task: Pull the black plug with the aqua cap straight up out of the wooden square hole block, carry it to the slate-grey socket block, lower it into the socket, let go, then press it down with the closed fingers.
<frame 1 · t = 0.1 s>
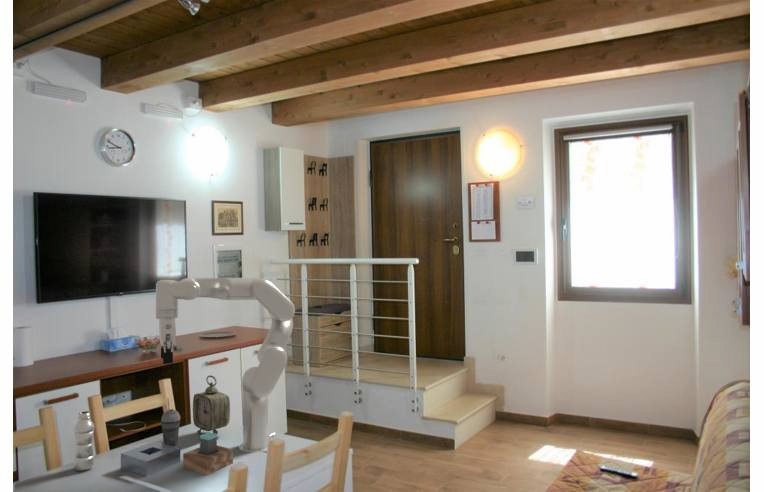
hand: (166, 360, 205), 37 cm above the table, tool pointing down, fingers open, 9 cm apart
beverage cup: (170, 450, 217), on the table
socket block: (150, 467, 200), on the table
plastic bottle: (84, 469, 198), on the table
tabletop clock: (211, 435, 234), on the table
wooden square hole block: (208, 468, 200), on the table
plug: (208, 465, 200), point 1 cm above the table, touching wooden square hole block
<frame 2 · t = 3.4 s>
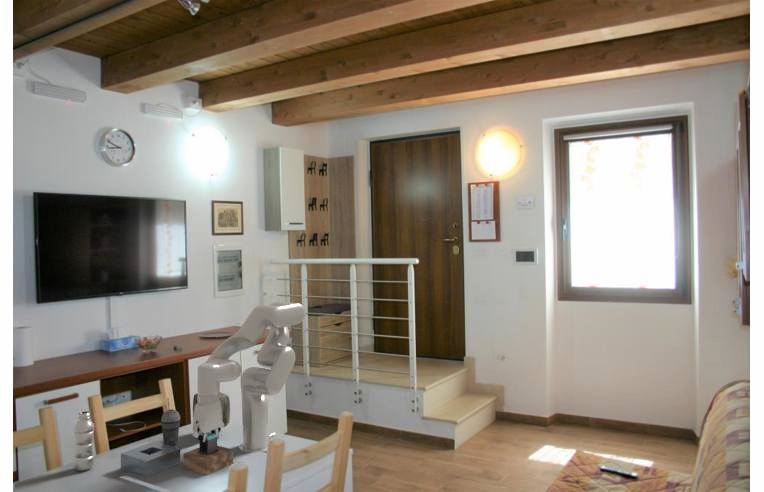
hand: (208, 449, 200), 7 cm above the table, tool pointing down, fingers closed on plug, 4 cm apart
plug: (208, 465, 200), point 1 cm above the table, touching gripper, wooden square hole block
everything else where it was.
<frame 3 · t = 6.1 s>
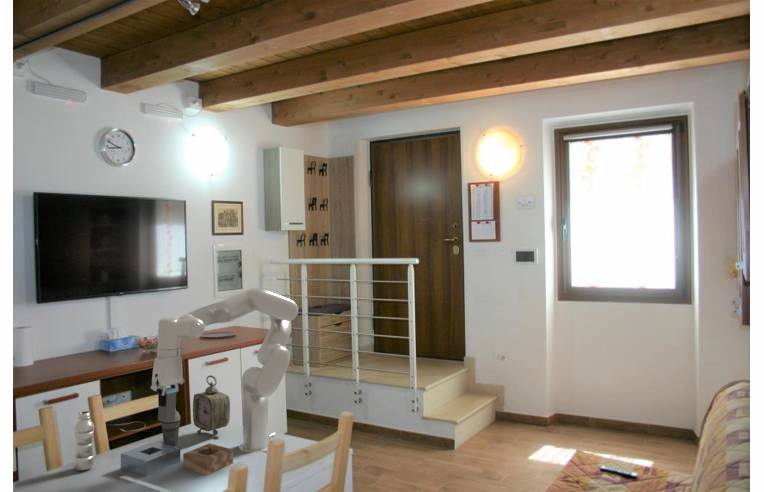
hand: (167, 404, 200), 23 cm above the table, tool pointing down, fingers closed on plug, 4 cm apart
plug: (166, 419, 200), point 17 cm above the table, touching gripper
everything else where it was.
when the fingers open (8 cm above the table, at t = 9.1 s): plug stays where it is, resting on socket block.
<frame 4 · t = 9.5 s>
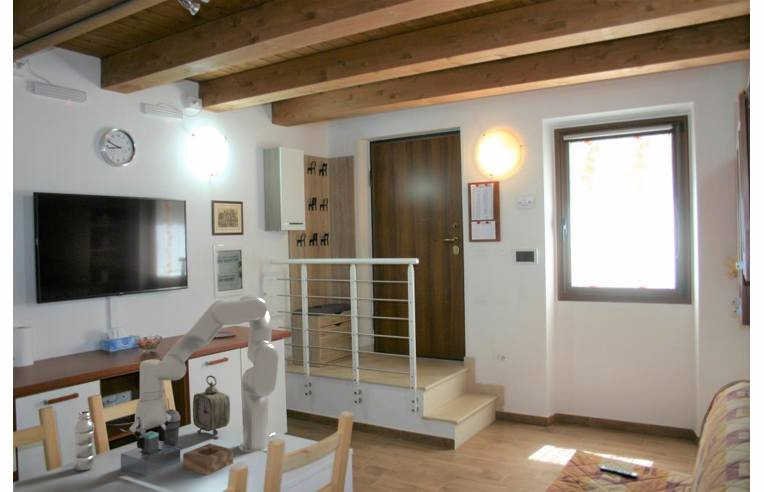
hand: (151, 444, 200), 8 cm above the table, tool pointing down, fingers open, 7 cm apart
plug: (150, 464, 200), point 1 cm above the table, touching socket block
everything else where it was.
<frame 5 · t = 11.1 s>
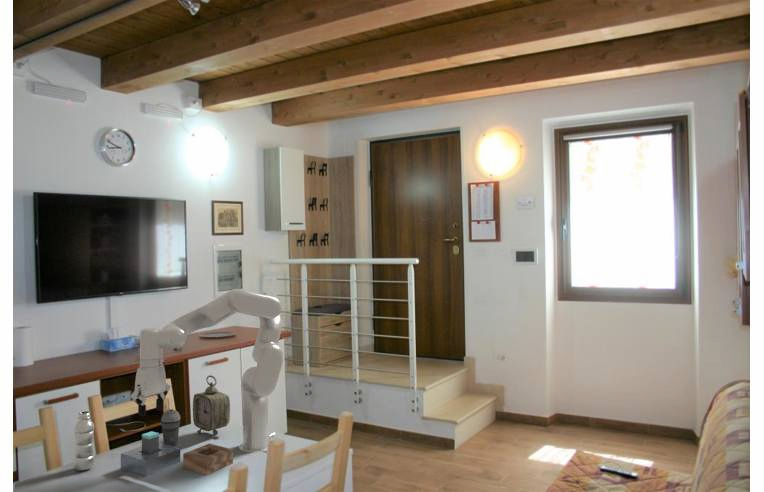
hand: (151, 412, 200), 20 cm above the table, tool pointing down, fingers open, 6 cm apart
nothing on the table moved.
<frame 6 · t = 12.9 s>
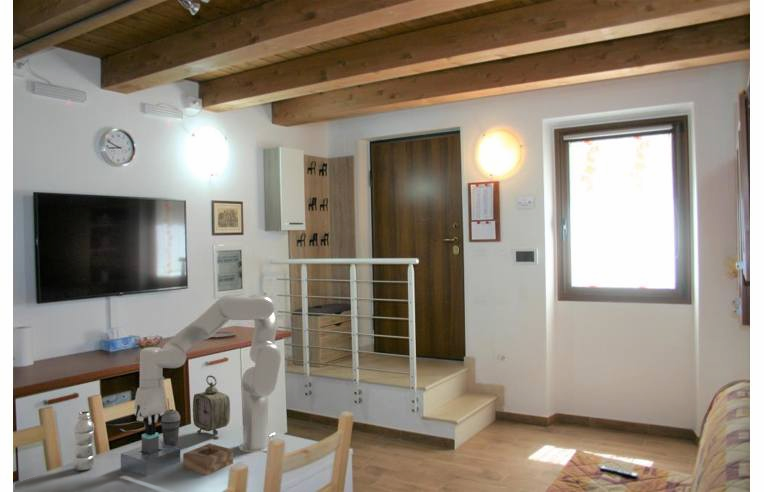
hand: (150, 434, 200), 12 cm above the table, tool pointing down, fingers closed
plug: (150, 464, 200), point 1 cm above the table, touching gripper, socket block
everything else where it was.
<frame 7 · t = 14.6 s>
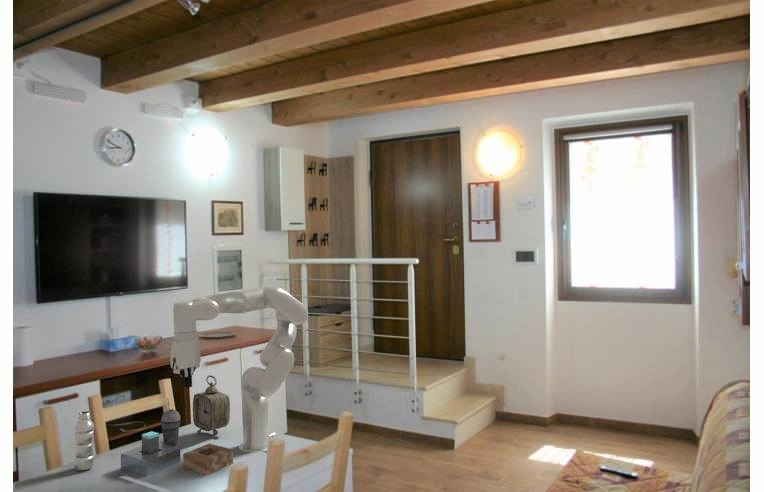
hand: (187, 386, 201), 29 cm above the table, tool pointing down, fingers closed
plug: (150, 464, 200), point 1 cm above the table, touching socket block
everything else where it was.
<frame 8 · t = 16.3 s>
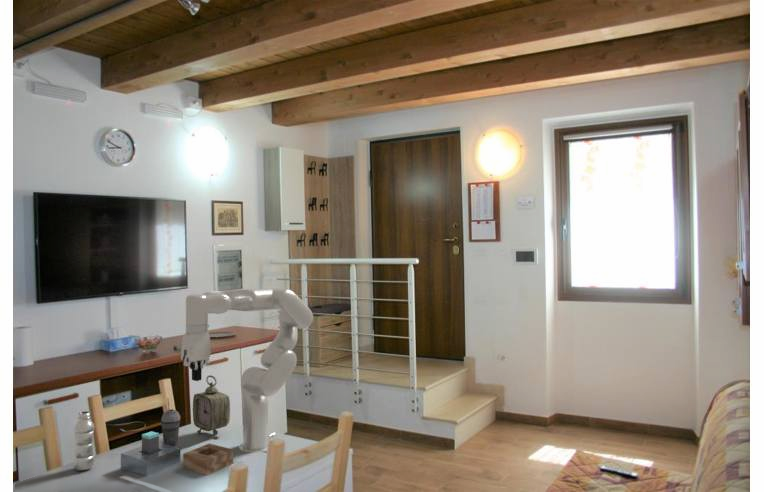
hand: (196, 380, 201), 31 cm above the table, tool pointing down, fingers closed
nothing on the table moved.
at the end: plug 0.4 cm off-centre on the socket block, point 1.0 cm above the socket block's base; plug tilted 0°; the gripper is holding nothing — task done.
